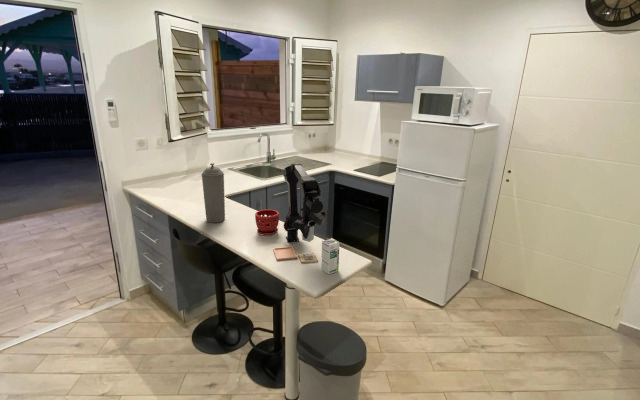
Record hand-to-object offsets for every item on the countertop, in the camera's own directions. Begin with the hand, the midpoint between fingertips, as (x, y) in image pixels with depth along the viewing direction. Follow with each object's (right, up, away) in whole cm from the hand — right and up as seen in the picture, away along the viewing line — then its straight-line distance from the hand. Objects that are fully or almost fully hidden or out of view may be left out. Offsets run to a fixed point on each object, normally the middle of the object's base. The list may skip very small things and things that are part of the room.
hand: (307, 236), depth 166 cm
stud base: (0, -11, +3) cm, 11 cm away
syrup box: (+10, -15, -6) cm, 19 cm away
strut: (0, -1, 0) cm, 1 cm away
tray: (-12, -9, +7) cm, 17 cm away
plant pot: (-24, -1, +32) cm, 40 cm away
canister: (-58, +5, +47) cm, 75 cm away
